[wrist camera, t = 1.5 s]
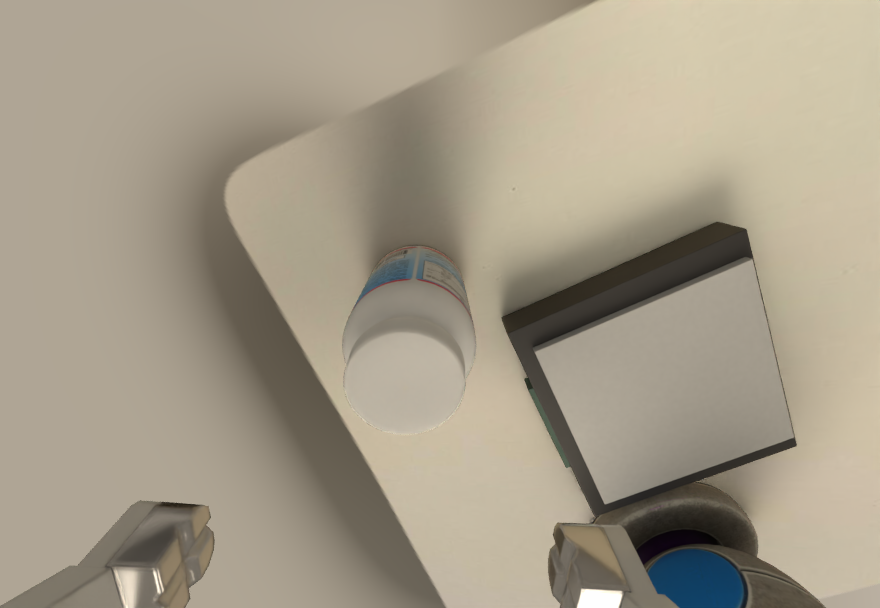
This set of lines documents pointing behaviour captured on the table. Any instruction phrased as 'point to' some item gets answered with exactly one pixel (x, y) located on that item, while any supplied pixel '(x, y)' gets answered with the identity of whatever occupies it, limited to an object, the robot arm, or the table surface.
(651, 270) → the scale
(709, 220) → the table surface
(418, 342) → the pill bottle
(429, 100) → the table surface
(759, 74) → the table surface
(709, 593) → the webcam
